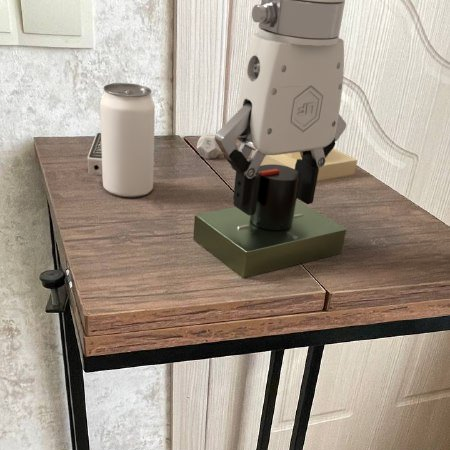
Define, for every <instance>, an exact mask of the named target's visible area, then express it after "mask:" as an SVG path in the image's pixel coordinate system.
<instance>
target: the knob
mask: <svg viewBox="0 0 450 450" xmlns="http://www.w3.org/2000/svg"><path fill="white" fill-rule="evenodd" d="M255 176H256V177H257V178H259V189H258V197H257V205H256V212H255V214H254V215H250V221H251V222H252V223H253V224H254V225H256V226H258V227H260V228H263V229H268V230H285V229H288V228H290V227H291V226H292V224H293V218H294V212H295V206H296V200H298V199H297V194H298V188H299V182H300V173H299V172H298V171H297V170H295V169H293V168H290V167H287V166H283V165H274V164H269V165H262V166H260V167H259V169H258V171H257V172H256V174H255Z"/></svg>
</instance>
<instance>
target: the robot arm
mask: <svg viewBox="0 0 450 450" xmlns="http://www.w3.org/2000/svg"><path fill="white" fill-rule="evenodd" d="M345 4H346V0H261V3H260V4H255V5H254V6H253V7H252V10H251V17H252V20H253V22H254V23H258V29H257V32H254V33H253V35H252V38H251V41H250V45H249V48H248V52H247V55H246V59H245V63H244V64H245V65H244V68H243V73H242V78H241V84H240V91H239V95H238V104H237V112H236V113H235V114H234V115H233V116H232V117H231V118H230V119H229V120H228V121H227V122H226V123H225V124H224V125H223V126H222V127H221V128H220V129H219V130H218V131H217V132H216V133H215V134H214V135H215V141H216V142H217V144H218V146H219V147H220V149H221V150H220V152H222V154H223V158H225V160H226V161H227V162H228V163H229V165H230V167H231V169H232V170H234V171H235V176H234V177H235V179H234V188H233V207H237V208H238V209H240V210H241V211H243V212H244V213H246V214H247V215H249V216H250V215H254V214H255V212H256V205H257V197H258V189H259V178H257V177H256V176H255V174H256V172H257V171H258V169H259V167H260V165H261V163H262V161H263V159H264V158H265V156H266V155H280V154H287V153H294V152H300V154H301V157H302V160H301V159H297V162H296V164H295V170H297V171H298V172H299V173H300V182H299V188H298V194H297V200H298V201H300V202H301V203H303V204H305V205H311V204H313V203H314V197H315V193H316V188H317V182H318V181H317V177H318V172H319V168H321V167H323V166H324V164H325V161H326V159H325V158H326V156H327V155H328V154H329V153H330V152H331V150H332V149H333V148H334V149H335V147H336V142H337V141H338V140H339V138H340V137H341V136H342V134H343V133H344V131H345V130H346V128H347V123H346V121H345V120H344V118H343V117H342V116H341V115H340V109H341V101H342V93H343V85H344V72H345V70H344V69H345V41H344V39H342V38H340V33H341V26H342V21H343V15H344V10H345ZM237 141H239V142H240V143H241V144H240V146H239V148H238V145H237ZM252 150H254V152H253V154H252ZM249 156H250V157H249ZM248 158H249V159H248Z"/></svg>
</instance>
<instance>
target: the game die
mask: <svg viewBox="0 0 450 450" xmlns="http://www.w3.org/2000/svg"><path fill="white" fill-rule="evenodd" d="M215 135H216V134H213V133H203V134H202V135H201V136H200V138H199V139H198V141H197V143H196V144H197V145H196V150H197V152H198V154H199V156H200V157H202V158H205V159H207V160H209V159H210V160H211V159H216V158H217V157H218V156H219V154H220V152H221V149H220V147H219V146H218V144H217V142H216V141H215Z"/></svg>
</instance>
